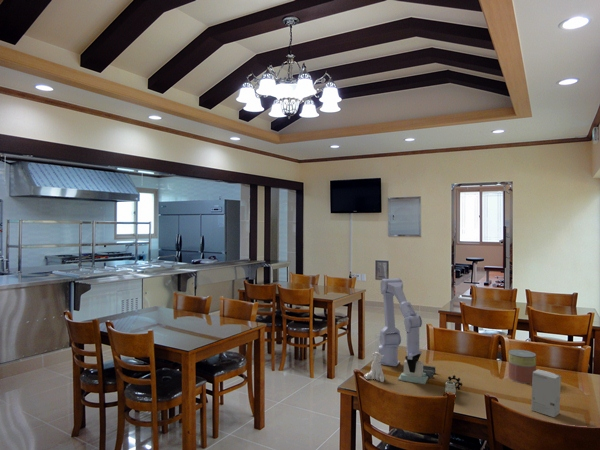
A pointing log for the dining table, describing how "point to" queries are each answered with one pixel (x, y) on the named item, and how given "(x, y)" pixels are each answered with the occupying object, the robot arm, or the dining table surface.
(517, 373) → the canned food
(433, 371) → the channel
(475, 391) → the dining table surface
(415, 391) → the dining table surface
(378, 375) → the sitting furry creature
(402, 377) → the cradle
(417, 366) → the white block
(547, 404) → the skincare box
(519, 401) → the dining table surface
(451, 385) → the valve
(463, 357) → the dining table surface
